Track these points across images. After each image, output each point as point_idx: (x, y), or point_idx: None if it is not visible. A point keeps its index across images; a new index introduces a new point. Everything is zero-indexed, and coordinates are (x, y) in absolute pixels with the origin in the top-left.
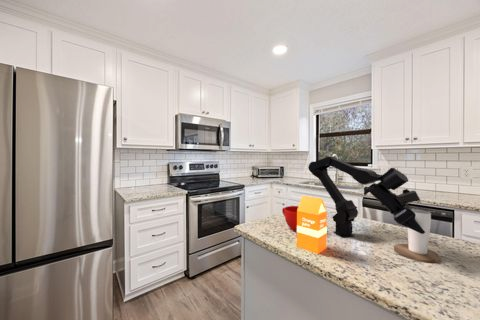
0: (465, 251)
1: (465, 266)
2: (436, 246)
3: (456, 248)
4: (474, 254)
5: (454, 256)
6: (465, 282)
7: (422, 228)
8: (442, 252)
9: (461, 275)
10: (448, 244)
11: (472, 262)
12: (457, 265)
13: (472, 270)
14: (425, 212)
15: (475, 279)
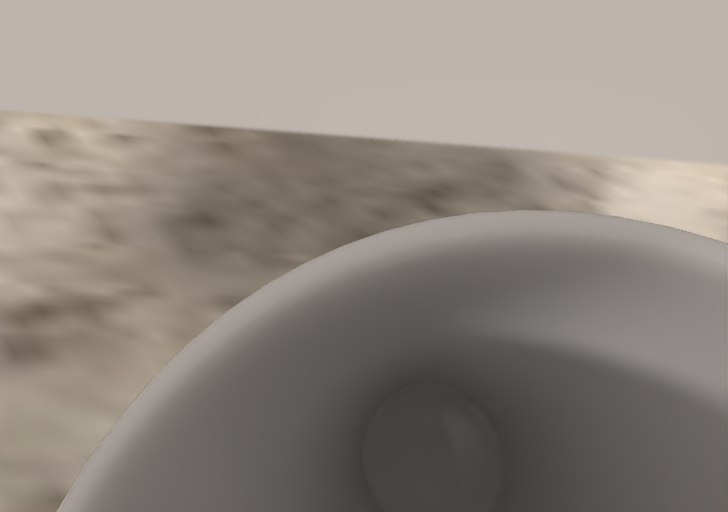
0: (126, 159)
1: (427, 180)
2: (120, 307)
3: (92, 198)
4: (156, 125)
5: (275, 219)
6: (718, 201)
7: (643, 454)
8: (239, 278)
9: (616, 210)
10: (26, 234)
11: (319, 145)
12: (446, 216)
13: (468, 156)
14: (206, 399)
15: (612, 156)
